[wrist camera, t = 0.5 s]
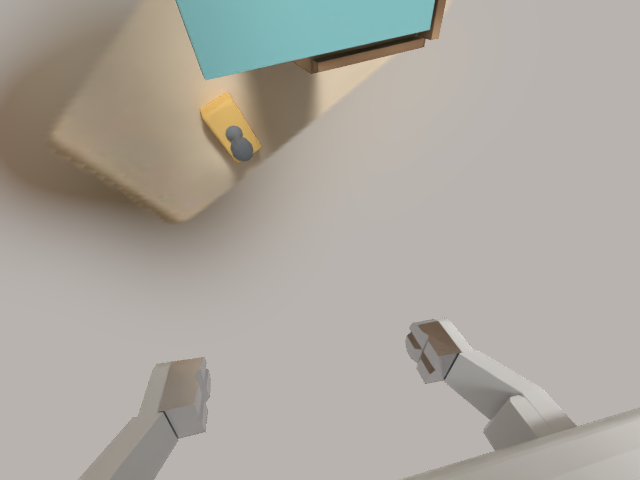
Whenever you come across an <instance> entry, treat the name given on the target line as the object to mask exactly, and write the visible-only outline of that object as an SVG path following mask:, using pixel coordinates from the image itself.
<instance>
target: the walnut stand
mask: <svg viewBox="0 0 640 480" xmlns="http://www.w3.org/2000/svg"><path fill="white" fill-rule="evenodd" d="M445 3H446V0H435V3H434V9H433V14H432V20H431V26H430V30H427V31H422V32H418V33H413V34H409V35H404V36H400V37H395V38H391V39H387V40H382V41H378V42H373V43H369V44H364V45H360V46H355V47H351V48H347V49H342V50H338V51H333V52H329V53H324V54H320V55H315V56H311V57H307V58H302V59H298V60H293V61H292V62H294V63H295V64H297V65H299V66H300V67H302V68H303V69H305V70H306V71H308V72H309V73H311V74H313V73H318V72H322V71H326V70H330V69H335V68H339V67H343V66H347V65H351V64H355V63H360V62H364V61H368V60H372V59H376V58H380V57H384V56H389V55H393V54H397V53H401V52H405V51H409V50H413V49H418V48H422V47H424V43H425V39H429V40H433V39H438V37H439V33H440V28H441V23H442V18H443V13H444V8H445Z"/></svg>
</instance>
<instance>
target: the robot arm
mask: <svg viewBox="0 0 640 480" xmlns="http://www.w3.org/2000/svg"><path fill="white" fill-rule="evenodd" d="M410 330H411V333H410V334H408V335H407V338H406V348H407V351H408V354H409V356H410V357H411V359H413V360H414V361H415V362H417V370H418V371H419V373H420V375H421V377H422V379H423V380H424V382H425V384H427V383H432V382H438V381H443V380H445V381H444V382H445V383H447V384H448V385H449V386H450V387H451V388H452V389H454V390H455V391H456V392H457V393H458V394H460V395H461V396H462V397H463V398H464V399H466V400H467V401H468V402H469V403H471V404H472V405H473V406H474V407H475V408H477V409H478V410H479V411H480V412H481V413H482V414H484V415H485V416H486V417H487V418H488V419H490V420H491V421H490V422H489V423H488V424H487V425H486V427H485V428H484V434H485V435H486V437H487V439H488V440H489V442H490V444H491V445H492V447H493V448H494V450H495V451H494V452H490V453H487V454H484V455H480V456H477V457H474V458H471V459H467V460H464V461H460V462H457V463H454V464H451V465H447V466H444V467H440V468H437V469H434V470H430V471H427V472H424V473H421V474H417V475H414V476H411V477H407V478H404V479H401V480H640V408H637V409H634V410H631V411H627V412H624V413H620V414H617V415H614V416H610V417H607V418H604V419H601V420H597V421H594V422H591V423H587V424H584V425H580V426H576V425H575V424H574V423H573V422H572V421H571V419H570V418H569V417H568V416H567V415H566V414H565V413H564V412H563V411H562V410H561V409H560V407H559V406H558V405H557V404H556V403H555V402H554V401H553V400H552V399H551V397H550V396H549V395H548V394H547V393H546V392H545V391H544V390H543V389H542V388H541V387H539V386H537V385H535V384H534V383H532V382H530V381H529V380H527V379H525V378H523V377H522V376H520V375H519V374H517V373H515V372H513V371H512V370H510V369H509V368H507V367H505V366H503V365H502V364H500V363H498V362H497V361H495V360H493V359H492V358H490V357H488V356H486V355H485V354H483V353H481V352H480V351H478V350H473V349H472V348H471V346H470V345H469V344H468V343H467V341H466V340H465V339H464V338H463V336H462V335H461V334H460V333H459V331H458V330H457V329H456V328H455V327H454V325H453V324H452V323H451V321H450V320H449V319H447V318H440V319H432V320H426V321H421V322H416V323H413V324H411V326H410ZM209 397H210V373H209V370H208V369H206V360H205V357H201V358H194V359H187V360H180V361H172V362H167V363H160V364H156V365H155V367H154V368H153V371H152V374H151V377H150V380H149V383H148V386H147V389H146V393H145V396H144V399H143V402H142V405H141V408H140V412H139V415H138V417H134V418H132V419H131V420H130V421H129V422H128V424H127V425H126V426H125V427H124V428H123V429H122V431H121V432H120V433H119V434H118V435H117V436H116V437H115V438H114V439H113V441H112V442H111V443H110V444H109V445H108V446H107V447H106V449H105V450H104V451H103V452H102V453H101V454H100V455H99V456H98V458H97V459H96V460H95V461H94V462H93V463H92V464H91V465H90V467H89V468H88V469H87V470H86V471H85V472H84V473H83V475H82V476H81V477H80V478H79V479H78V480H154V479H155V477H156V476H157V474H158V472H159V471H160V469H161V467H162V466H163V464H164V463H165V461H166V459H167V458H168V456H169V455H170V453H171V451H172V450H173V448H174V446H175V445H176V443H177V442H178V439H179V438H183V437H187V436H191V435H195V434H199V433H203V432H205V431H206V423H207V415H208V409H207V406H206V401H207V400H208V399H209Z"/></svg>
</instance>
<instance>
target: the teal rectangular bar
mask: <svg viewBox="0 0 640 480" xmlns="http://www.w3.org/2000/svg"><path fill="white" fill-rule="evenodd" d="M176 3H177V6H178V8H179V11H180V14H181V17H182V19H183V22H184V25H185V28H186V30H187V33H188V36H189V39H190V41H191V44H192V47H193V50H194V52H195V55H196V58H197V60H198V63H199V66H200V69H201V71H202V74H203V76H204V78H205V80H209V79H213V78H218V77H222V76H227V75H231V74H235V73H240V72H244V71H249V70H253V69H258V68H262V67H267V66H271V65H275V64H280V63H284V62H289V61H293V60H298V59H302V58H307V57H311V56H315V55H320V54H324V53H329V52H333V51H338V50H342V49H347V48H351V47H355V46H360V45H364V44H369V43H373V42H378V41H382V40H387V39H391V38H395V37H400V36H404V35H409V34H413V33H418V32H422V31H427V30H430V26H431V20H432V14H433V9H434V3H435V0H176Z"/></svg>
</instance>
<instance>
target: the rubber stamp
mask: <svg viewBox="0 0 640 480" xmlns="http://www.w3.org/2000/svg"><path fill="white" fill-rule="evenodd" d="M200 114H201V117H202V119H203V120H204V122H205V123H206V124H207V126H208V127H209V128H210V130H211V131H212V132H213V133H214V135H215V136H216V137H217V139H218V140H219V141H220V143H221V144H222V145H223V146H224V148H225V149H226V150H227V152H228V153H229V154H230V156H231V157H232V158H233V159H234V161H235V162H237V163H239V162H241V161H247V160H249V159H250V158H251V157H252V155H253V154H254V153H255V152H257V151H258V150H260V149H261V147H262V146H261V144H260V142H259V141H258V139H257V138H256V136H255V134H254V133H253V131H252V130H251V128H250V127H249V125H248V123H247V122H246V120H245V119H244V117H243V115H242V114H241V112H240V111H239V109H238V108H237V106H236V104H235V103H234V101H233V100H232V98H231V96H230V95H229V94H228V93H224V94H223V95H221V96H219V97H218V98H216V99H215V100H213V101H212V102H210V103H208V104H207V105H205V106H204V107H202V108H201V109H200Z"/></svg>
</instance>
